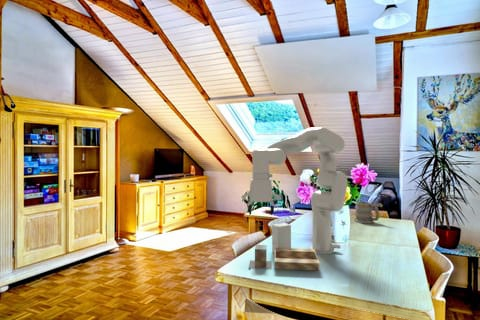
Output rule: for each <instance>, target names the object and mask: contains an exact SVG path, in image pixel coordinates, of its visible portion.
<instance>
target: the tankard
mask: <svg viewBox="0 0 480 320" xmlns="http://www.w3.org/2000/svg"><path fill="white" fill-rule="evenodd" d="M383 206H384V205H383V204H382V203H380V202H379V203H376V204H372V203H371V202H370V201H356V202H355V206H354V209H355V212H354V215H355V217H354V218H353V221H354V222H355V223H359V224H360V223H361V224H372V223H375V222H374V221H376V222H377V221H379V219H380V212H379V207H380V208H382V207H383ZM373 208H374V213H375V217H373V213H372V211H373Z"/></svg>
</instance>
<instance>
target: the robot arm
mask: <svg viewBox="0 0 480 320" xmlns="http://www.w3.org/2000/svg"><path fill="white" fill-rule="evenodd" d="M345 145H346V144H345V140H344V138H343V137H342V136H341V135H340V134H338V133H335V131H332V130H330V129H329V128H327V127H323V126H322V127H321V126H320V127H308V128H306V129H304V130H301V131H300V132H298V133H296V134H295V135H293V136H291V137H288V138H286V139H282V140H280V141H277V142H274V143H271V144H270V145H268V146H266V147H264V148H263V149H262V148H261V149H259V148H258V149H253V150H252V159H251V160H252V179H251V180H250V182H249V183H250V184H249V185H250V186H249V192H246V193H244V194H243V195H241V198H242V200H243V203H245V204H246V205H247V213H249V215H252V203H253V202H255V203H269V204H270V215H271V216H272V215H273V214H274V212H275V208H274V207H275V206H276V204H278V202H279V200H280V199H281V195H279V194H277V193H275V192H273V186H272V180H271V179H270V178H273V173H270V165H272V166H279V165H280V166H281V165H282V164H284V163H285V162H286V160H287V156H292V155H296V154H299V153H301V152H303V151H305V150H306V149H309V148H310V147H312V146H313V147H314V150H315V151H316V152H317V154H318V156H319V160H320V162H319V167H318V172H317V173H318V174H317V179H316V181H317V182H316V183H317V186H319V188H322V189H326V190H315V191H314V192H312V194H311V197H310V204H311V211H312V235H311V236H312V238H311V239H312V240H311V242H312V243H311V244H312V245H311V246H309V247H308V249H314V250H315V252H316V254H323V255H326V254H333V253H334V252H335V250H334V249H341V244H337V243H332V215H331V212H335V213H336V212H337V213H338V212H340V211H341V210H342V209H343V208H344V204H345V201H346V195H347V189H348V176H347V175H346V174H345V173H344V172H342V171H338V170H337V164H338V161H337V157H336V156H335V154H336V153H341V152H342V151H343V150H344V148H345ZM327 189H329V190H331V191H327ZM247 197H249V200H247ZM273 197H274V198H275V199H274V201H273Z"/></svg>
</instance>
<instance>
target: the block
mask: <svg viewBox="0 0 480 320" xmlns="http://www.w3.org/2000/svg"><path fill="white" fill-rule="evenodd" d="M254 261H255V267H266V261H267V244H255V246H254Z"/></svg>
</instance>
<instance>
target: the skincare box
mask: <svg viewBox="0 0 480 320" xmlns="http://www.w3.org/2000/svg"><path fill="white" fill-rule="evenodd" d="M271 240H272V243H271V244H272V245H271V247H272V249H271V250H272V252H273V253H274V248H292V225H291V224H290V223H286V222H282V223H274V224H271Z"/></svg>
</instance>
